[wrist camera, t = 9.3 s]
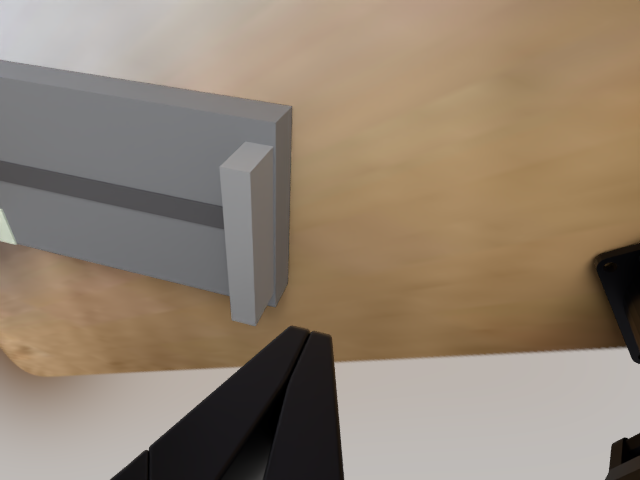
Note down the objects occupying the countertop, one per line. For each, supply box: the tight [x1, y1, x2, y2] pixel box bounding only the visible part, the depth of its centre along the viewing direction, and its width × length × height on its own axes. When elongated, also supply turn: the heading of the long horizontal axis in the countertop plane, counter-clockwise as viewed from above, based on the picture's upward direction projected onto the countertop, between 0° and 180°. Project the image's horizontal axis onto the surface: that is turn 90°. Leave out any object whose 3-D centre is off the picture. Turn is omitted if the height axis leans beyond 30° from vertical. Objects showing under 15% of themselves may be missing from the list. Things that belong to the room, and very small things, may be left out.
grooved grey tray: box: [0, 60, 292, 326], centre depth 22 cm, size 22×10×4 cm, turn 87°
